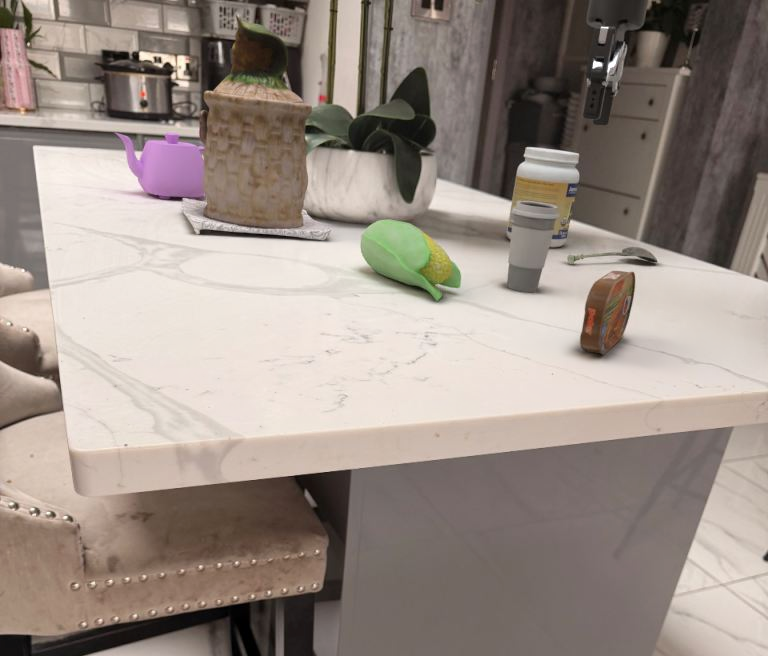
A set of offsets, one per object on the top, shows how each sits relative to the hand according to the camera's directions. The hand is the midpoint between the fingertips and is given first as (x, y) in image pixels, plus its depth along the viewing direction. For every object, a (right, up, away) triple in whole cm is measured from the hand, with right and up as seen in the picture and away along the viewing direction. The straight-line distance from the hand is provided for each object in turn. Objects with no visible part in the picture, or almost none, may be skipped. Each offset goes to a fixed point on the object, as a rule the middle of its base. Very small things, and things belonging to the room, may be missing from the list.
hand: (595, 122), depth 106 cm
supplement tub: (+1, 0, +48) cm, 48 cm away
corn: (-26, -21, +5) cm, 34 cm away
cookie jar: (-53, -2, +33) cm, 63 cm away
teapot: (-74, +11, +52) cm, 91 cm away
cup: (-9, -20, +10) cm, 24 cm away
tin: (-3, -34, -13) cm, 37 cm away
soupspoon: (+13, -8, +36) cm, 39 cm away
